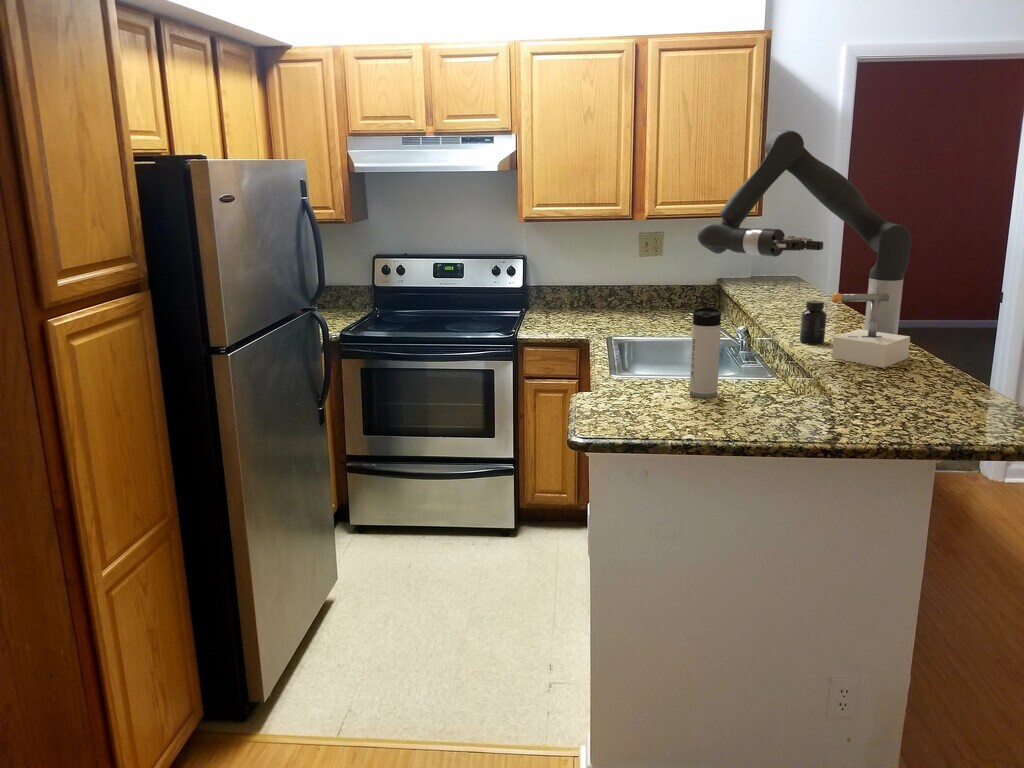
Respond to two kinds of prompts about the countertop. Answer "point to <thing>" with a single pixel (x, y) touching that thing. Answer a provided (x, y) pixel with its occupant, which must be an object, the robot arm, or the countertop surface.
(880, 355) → the block
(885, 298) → the T-key
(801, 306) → the countertop surface
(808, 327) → the supplement bottle
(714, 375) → the travel mug
